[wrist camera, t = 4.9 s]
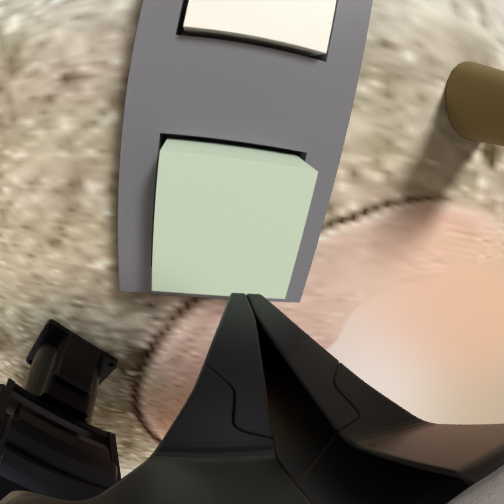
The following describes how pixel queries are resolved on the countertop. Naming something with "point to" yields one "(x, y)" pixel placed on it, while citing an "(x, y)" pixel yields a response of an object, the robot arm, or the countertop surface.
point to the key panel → (231, 117)
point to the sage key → (228, 218)
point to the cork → (476, 102)
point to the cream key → (264, 23)
